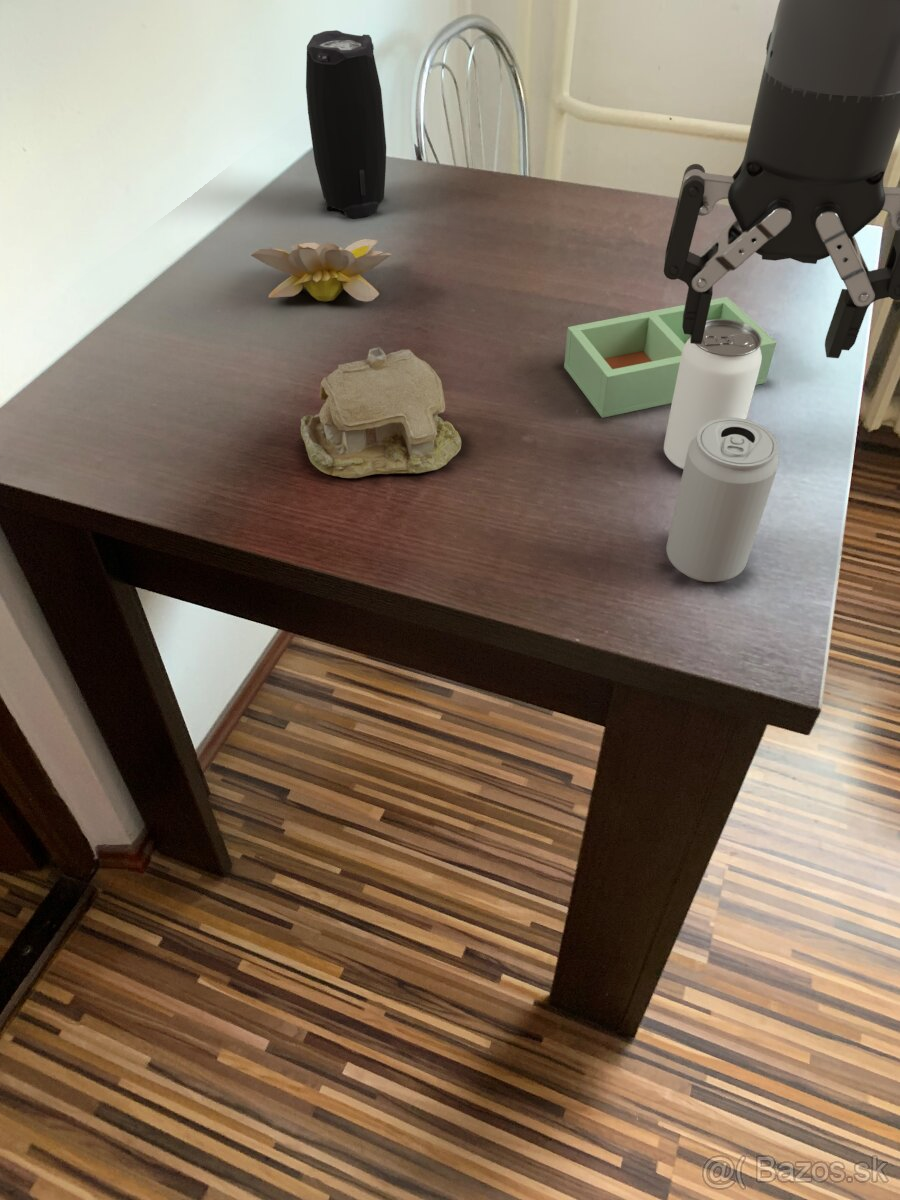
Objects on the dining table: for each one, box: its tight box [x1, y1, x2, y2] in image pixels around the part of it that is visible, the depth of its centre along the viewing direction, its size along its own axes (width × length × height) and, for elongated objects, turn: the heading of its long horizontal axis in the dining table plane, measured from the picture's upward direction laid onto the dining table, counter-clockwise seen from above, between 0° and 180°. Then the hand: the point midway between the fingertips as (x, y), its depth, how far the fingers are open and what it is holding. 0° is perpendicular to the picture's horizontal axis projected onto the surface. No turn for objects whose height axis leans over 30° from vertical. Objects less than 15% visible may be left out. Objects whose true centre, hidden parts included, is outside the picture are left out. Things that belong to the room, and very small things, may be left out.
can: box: [663, 319, 762, 470], centre depth 76 cm, size 6×6×12 cm
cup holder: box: [563, 296, 777, 419], centre depth 88 cm, size 9×18×5 cm, turn 108°
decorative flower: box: [250, 238, 392, 303], centre depth 99 cm, size 15×11×10 cm
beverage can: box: [666, 418, 780, 583], centre depth 67 cm, size 6×6×12 cm
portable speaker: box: [305, 29, 387, 219], centre depth 111 cm, size 9×9×20 cm
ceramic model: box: [300, 346, 462, 479], centre depth 79 cm, size 14×11×10 cm
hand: (763, 344), depth 57 cm, fingers open, 8 cm apart
